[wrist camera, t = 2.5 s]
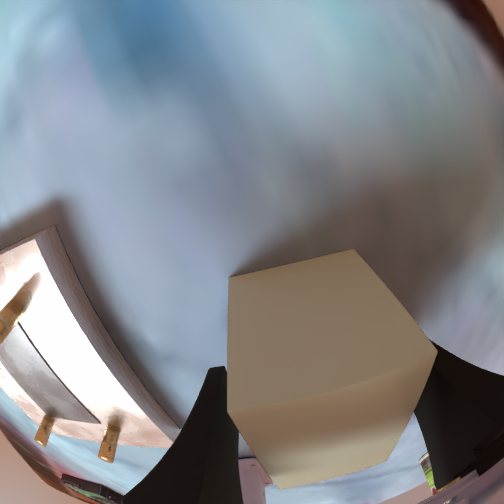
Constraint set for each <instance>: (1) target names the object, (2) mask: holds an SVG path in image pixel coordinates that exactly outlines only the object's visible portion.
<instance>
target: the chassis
mask: <svg viewBox="0 0 504 504" xmlns="http://www.w3.org/2000/svg"><path fill="white" fill-rule="evenodd" d="M0 386H1V387H2V389H3V390H4V391H5V392H6V393H7V394H8V395H9V396H10V398H11V399H12V400H13V401H14V402H15V403H16V404H17V405H18V406H19V407H20V408H21V409H22V410H23V411H24V412H25V413H26V414H27V415H28V416H29V417H30V418H31V419H32V420H33V421H34V422H35V423H36V424H37V425H39V429H38V431H37V434H36V436H35V439H34V440H35V441H36V442H37V443H39V444H40V445H42V446H44V447H46V444H47V441H48V439H49V436H50V433H55V434H60V435H64V436H69V437H73V438H78V439H84V440H89V441H96V442H101V446H100V450H99V454H98V458H100V459H101V460H103V461H106V462H109V463H113V461H114V457H115V452H116V448H117V444H118V445H128V446H141V447H162V448H170V447H171V445H172V444H173V442H174V441H175V439H176V438H177V436H178V435H179V433H180V431H181V430H180V429H179V428H178V426H177V425H176V424H175V423H174V422H173V421H172V420H171V419H170V417H169V416H168V415H167V414H166V413H165V412H164V410H163V409H162V408H161V407H160V406H159V404H158V403H157V402H156V401H155V399H154V398H153V397H152V396H151V394H150V393H149V392H148V390H147V389H146V388H145V387H144V385H143V384H142V383H141V381H140V380H139V379H138V377H137V376H136V374H135V373H134V372H133V370H132V369H131V367H130V366H129V365H128V363H127V362H126V360H125V359H124V357H123V356H122V354H121V353H120V351H119V350H118V348H117V347H116V345H115V344H114V342H113V340H112V339H111V337H110V336H109V334H108V332H107V331H106V329H105V327H104V326H103V324H102V322H101V321H100V319H99V317H98V316H97V314H96V312H95V310H94V308H93V307H92V305H91V303H90V301H89V299H88V297H87V295H86V294H85V292H84V290H83V288H82V286H81V284H80V282H79V280H78V278H77V276H76V274H75V271H74V269H73V267H72V265H71V263H70V261H69V258H68V256H67V254H66V252H65V249H64V247H63V245H62V242H61V240H60V237H59V235H58V232H57V230H56V227H55V225H53V226H51V227H49V228H47V229H44V230H42V231H40V232H38V233H35V234H33V235H31V236H29V237H27V238H25V239H23V240H20V241H18V242H16V243H14V244H12V245H10V246H8V247H6V248H4V249H2V250H0Z"/></svg>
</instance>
